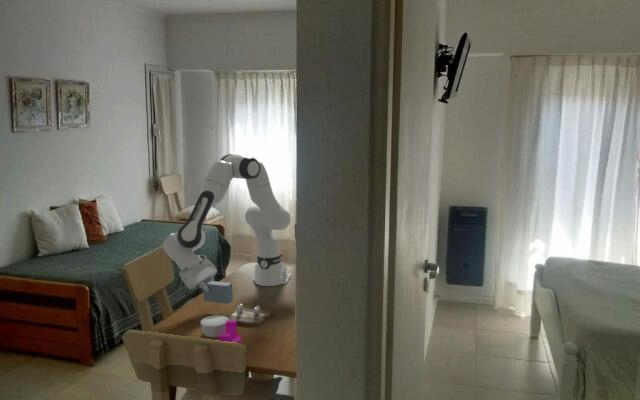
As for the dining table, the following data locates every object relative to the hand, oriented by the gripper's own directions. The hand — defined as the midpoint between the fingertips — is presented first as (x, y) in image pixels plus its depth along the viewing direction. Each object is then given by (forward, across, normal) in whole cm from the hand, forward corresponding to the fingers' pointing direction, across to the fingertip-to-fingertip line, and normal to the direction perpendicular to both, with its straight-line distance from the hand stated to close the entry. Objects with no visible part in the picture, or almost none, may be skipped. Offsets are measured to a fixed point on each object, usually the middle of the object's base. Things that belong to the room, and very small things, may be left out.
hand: (211, 288), depth 231 cm
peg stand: (+21, -3, -6) cm, 22 cm away
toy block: (+25, -30, -10) cm, 40 cm away
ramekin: (+16, -20, -2) cm, 26 cm away
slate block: (+6, 0, +2) cm, 6 cm away
